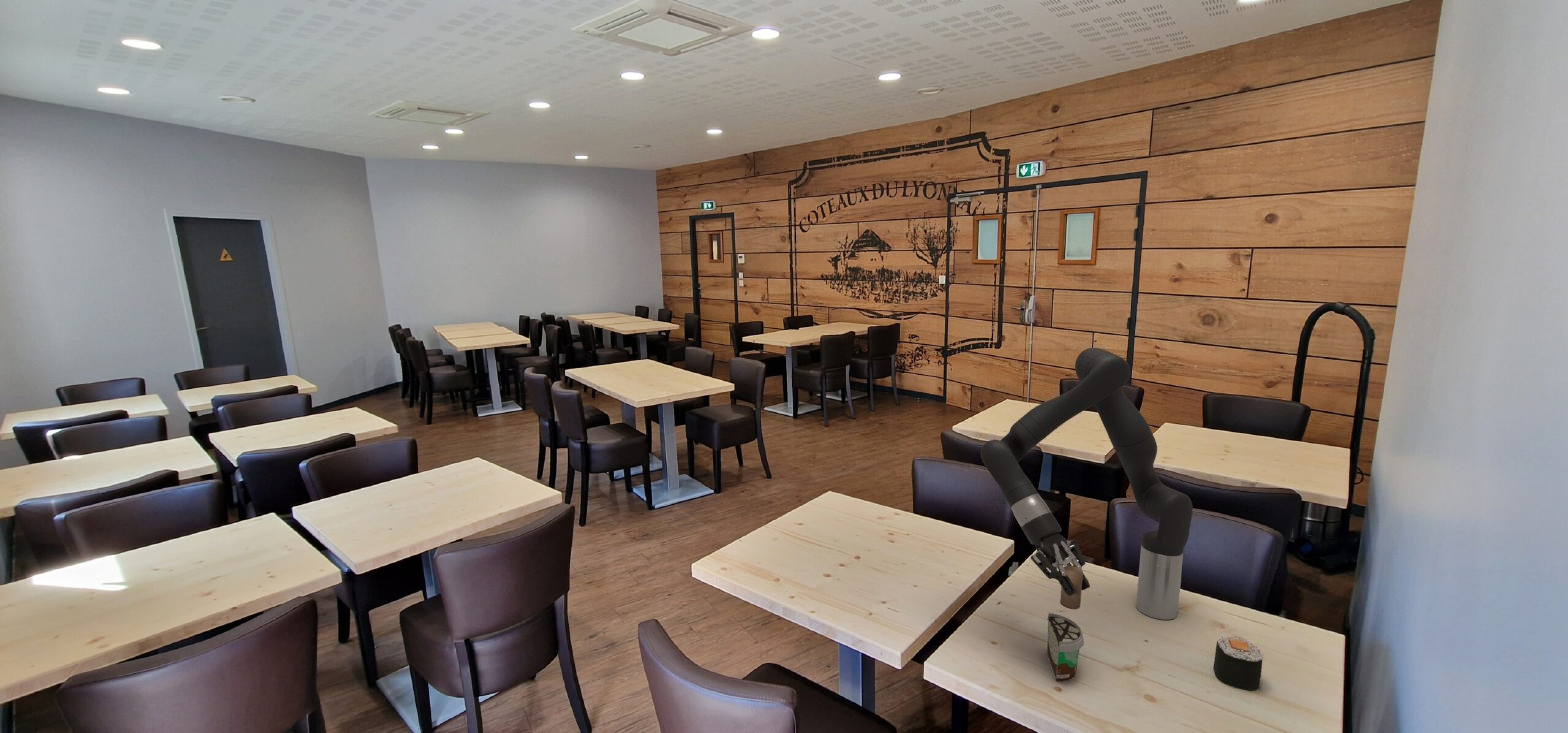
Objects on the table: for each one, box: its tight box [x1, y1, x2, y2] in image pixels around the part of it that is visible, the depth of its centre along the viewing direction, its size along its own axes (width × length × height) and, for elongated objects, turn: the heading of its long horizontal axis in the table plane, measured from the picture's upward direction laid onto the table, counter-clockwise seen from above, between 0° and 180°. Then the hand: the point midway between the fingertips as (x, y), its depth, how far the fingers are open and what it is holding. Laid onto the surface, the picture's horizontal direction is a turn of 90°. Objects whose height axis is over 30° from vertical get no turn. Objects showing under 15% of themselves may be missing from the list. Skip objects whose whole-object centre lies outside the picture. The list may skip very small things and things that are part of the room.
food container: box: [1046, 612, 1085, 682], centre depth 139 cm, size 12×6×10 cm, turn 168°
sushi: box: [1213, 635, 1265, 692], centre depth 135 cm, size 8×8×8 cm
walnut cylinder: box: [1059, 565, 1084, 610], centre depth 136 cm, size 4×4×8 cm
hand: (1079, 591), depth 135 cm, fingers closed on walnut cylinder, 4 cm apart
